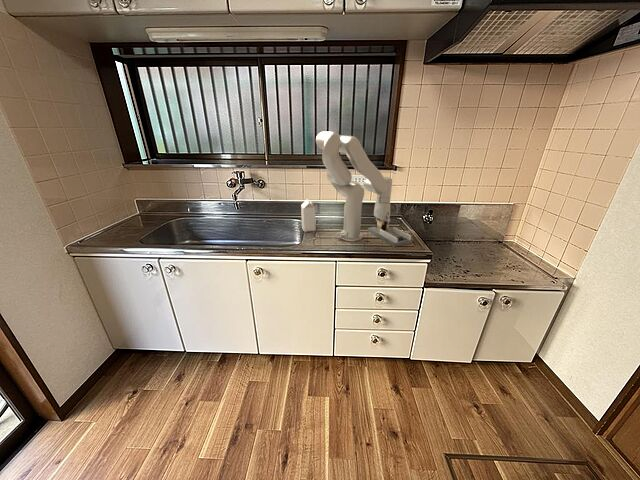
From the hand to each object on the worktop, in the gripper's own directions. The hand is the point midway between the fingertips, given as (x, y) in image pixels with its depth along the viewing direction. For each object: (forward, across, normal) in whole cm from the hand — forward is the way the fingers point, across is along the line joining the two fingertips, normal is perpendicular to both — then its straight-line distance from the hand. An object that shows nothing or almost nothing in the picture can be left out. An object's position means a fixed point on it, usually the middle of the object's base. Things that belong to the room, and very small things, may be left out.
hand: (380, 228), depth 154 cm
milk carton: (+2, -22, -38) cm, 44 cm away
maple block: (0, 0, +1) cm, 1 cm away
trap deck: (+2, +8, 0) cm, 8 cm away
